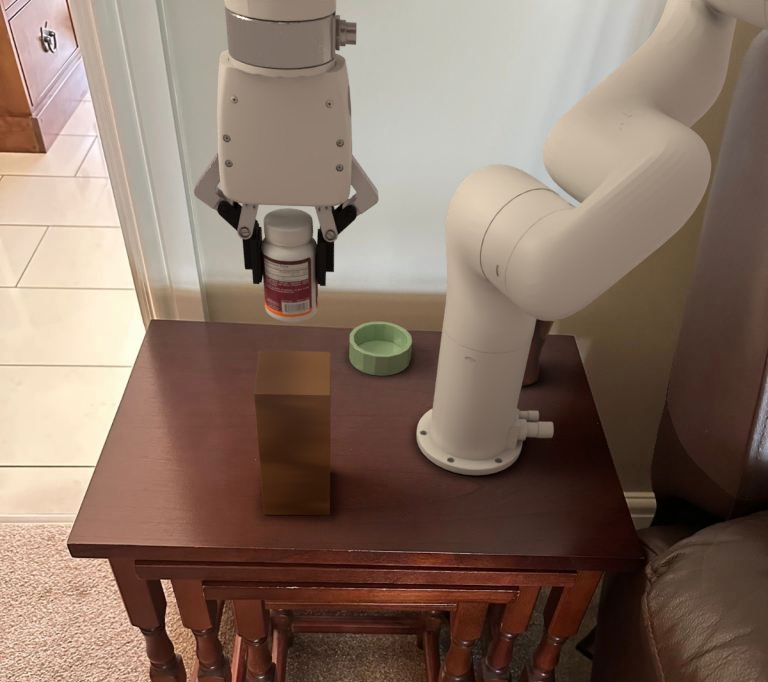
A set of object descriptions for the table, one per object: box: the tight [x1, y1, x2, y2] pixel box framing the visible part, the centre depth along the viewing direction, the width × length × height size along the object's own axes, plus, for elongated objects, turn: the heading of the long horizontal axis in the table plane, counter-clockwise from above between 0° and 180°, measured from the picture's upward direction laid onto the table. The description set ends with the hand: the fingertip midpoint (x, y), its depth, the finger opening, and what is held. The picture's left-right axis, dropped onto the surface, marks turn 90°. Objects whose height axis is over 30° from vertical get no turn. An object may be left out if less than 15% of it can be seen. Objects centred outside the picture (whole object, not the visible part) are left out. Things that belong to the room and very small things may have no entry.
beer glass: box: [521, 319, 555, 387], centre depth 98 cm, size 7×7×15 cm
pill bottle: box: [261, 207, 319, 323], centre depth 66 cm, size 5×5×8 cm
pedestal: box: [253, 350, 332, 516], centre depth 80 cm, size 7×7×16 cm
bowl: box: [348, 321, 413, 377], centre depth 103 cm, size 8×8×3 cm
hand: (290, 275), depth 67 cm, fingers closed on pill bottle, 4 cm apart
